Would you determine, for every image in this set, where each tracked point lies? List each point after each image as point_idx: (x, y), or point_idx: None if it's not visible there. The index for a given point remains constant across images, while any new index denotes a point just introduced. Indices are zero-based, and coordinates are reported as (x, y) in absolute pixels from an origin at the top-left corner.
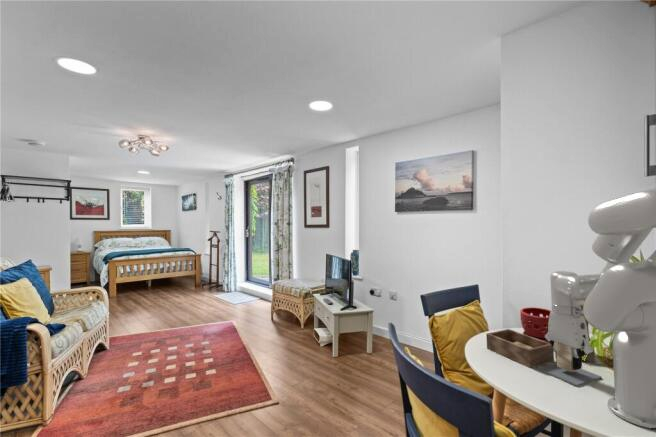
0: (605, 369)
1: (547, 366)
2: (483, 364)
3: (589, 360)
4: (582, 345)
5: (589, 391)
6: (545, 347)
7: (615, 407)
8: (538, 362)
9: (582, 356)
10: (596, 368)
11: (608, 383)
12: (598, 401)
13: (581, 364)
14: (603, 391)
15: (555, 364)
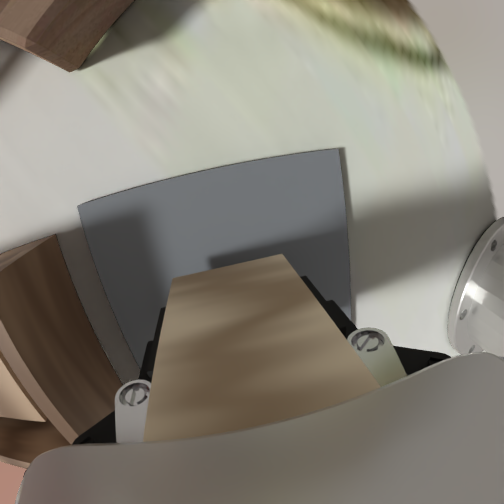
0: (241, 9)
1: (140, 352)
2: None
3: (123, 8)
4: (419, 373)
5: (386, 328)
6: (38, 373)
7: (470, 345)
8: (105, 373)
9: (374, 336)
10: (212, 43)
11: (380, 173)
12: (426, 345)
13: (337, 308)
14: (410, 274)
15: (118, 290)
